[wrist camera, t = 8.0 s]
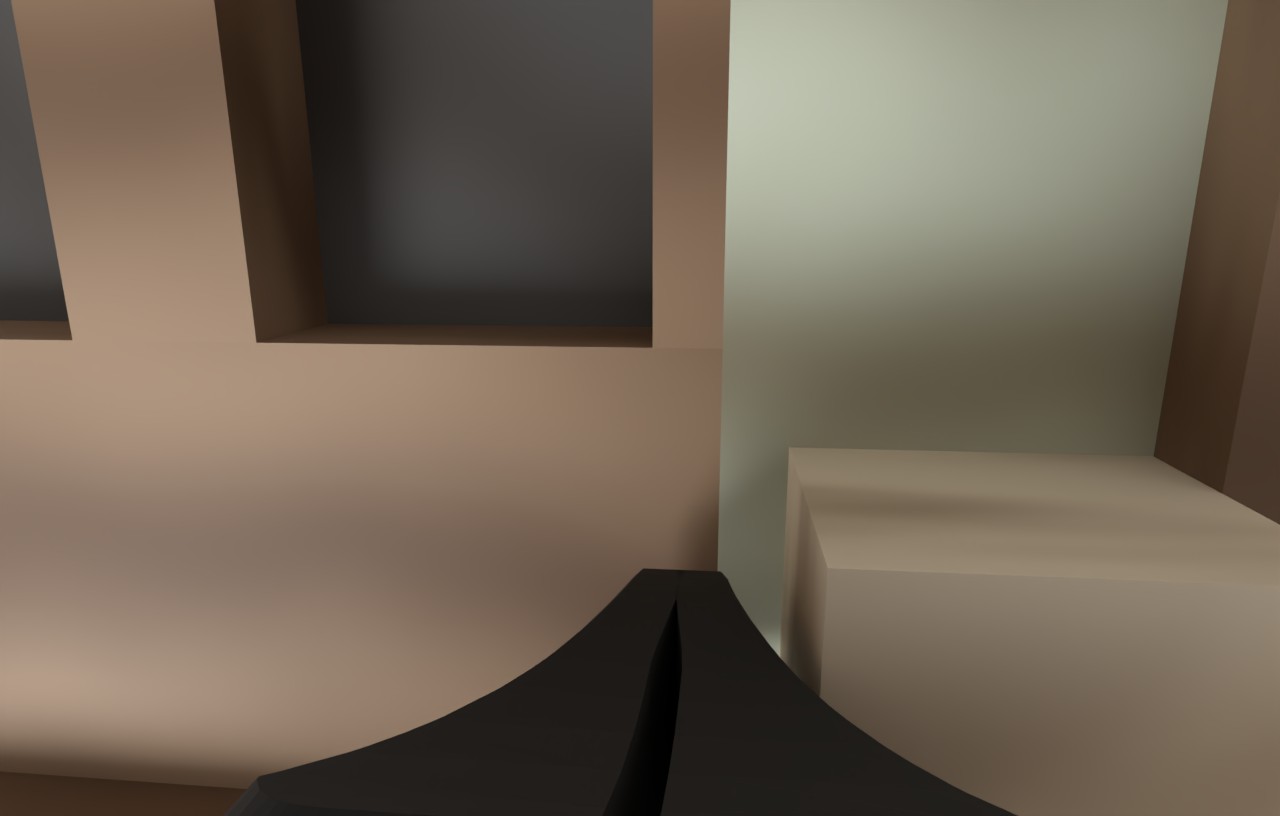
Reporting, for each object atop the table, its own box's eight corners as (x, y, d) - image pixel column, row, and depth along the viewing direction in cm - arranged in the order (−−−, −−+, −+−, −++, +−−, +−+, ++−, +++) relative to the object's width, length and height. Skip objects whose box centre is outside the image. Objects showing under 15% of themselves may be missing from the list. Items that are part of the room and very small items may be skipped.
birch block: (1102, 765, 12) (1289, 1029, 8) (775, 745, 12) (802, 985, 8) (1153, 456, 11) (1401, 590, 7) (789, 447, 11) (828, 568, 7)
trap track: (1075, 792, 15) (1202, 996, 11) (-13, 723, 17) (-228, 870, 13) (1222, -157, 11) (1499, -363, 7) (-206, -90, 13) (-588, -219, 9)
